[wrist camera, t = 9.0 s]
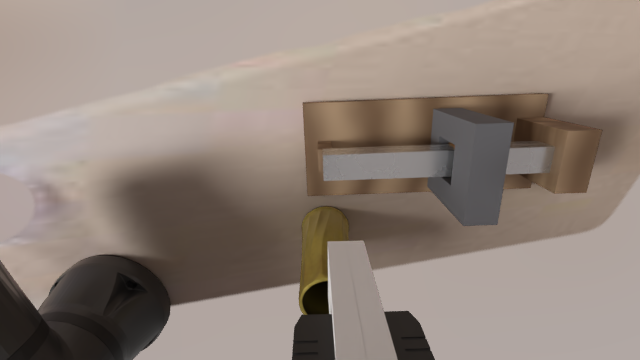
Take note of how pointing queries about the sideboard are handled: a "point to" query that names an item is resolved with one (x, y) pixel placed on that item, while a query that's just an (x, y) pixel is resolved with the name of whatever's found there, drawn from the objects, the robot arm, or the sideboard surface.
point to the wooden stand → (415, 129)
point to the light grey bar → (423, 161)
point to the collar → (472, 164)
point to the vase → (318, 256)
